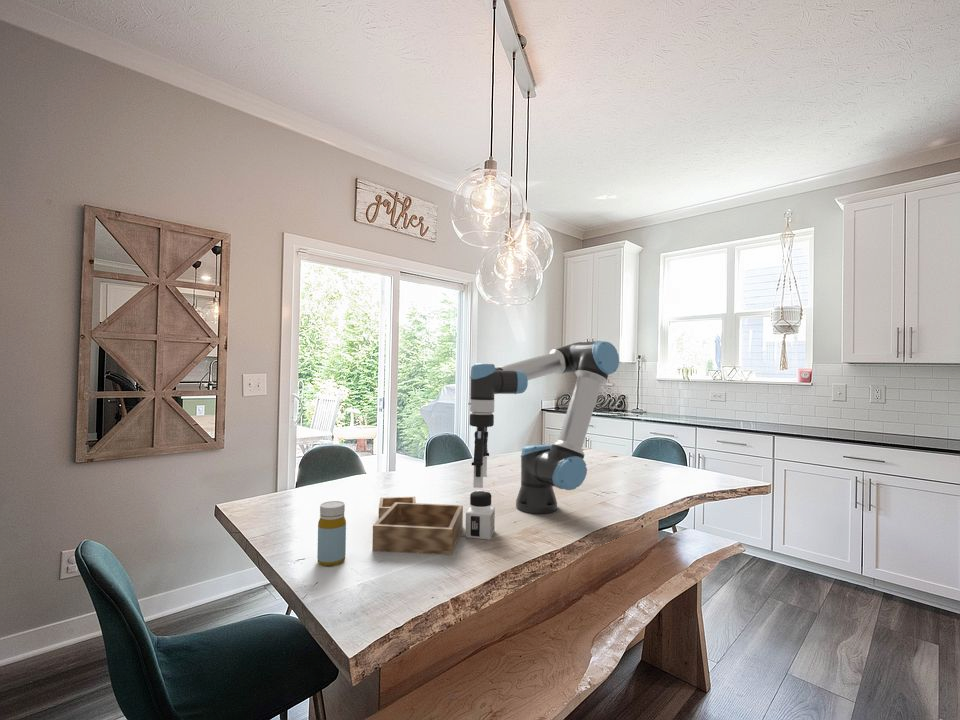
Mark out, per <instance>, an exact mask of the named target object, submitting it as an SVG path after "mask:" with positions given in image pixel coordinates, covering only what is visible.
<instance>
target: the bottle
mask: <svg viewBox="0 0 960 720" xmlns="http://www.w3.org/2000/svg"><path fill="white" fill-rule="evenodd" d="M345 506H346V504H345V502H343V501H339V500H331V501H325V502H322V503H321V504H320V505H319V520H318V523H317V554H316V555H317V556H316V557H317V563H318V564H319V565H320V566H323V567H334V566H339V565H340V564H342V563H343V562H344V561H345V559H346V552H347V551H346V547H347V546H346V545H347V544H346V541H347V539H346V538H347V520H346V517H345Z"/></svg>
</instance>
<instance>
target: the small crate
mask: <svg viewBox="0 0 960 720" xmlns="http://www.w3.org/2000/svg"><path fill="white" fill-rule="evenodd" d="M395 502H400V503H417V501H416V496H401V497H400V496H391V497H389V496H388V497H380V498H379V506H378V520H379V519H380V518H381V517H382V515H383V514H384V513H385V512H386V511H387V510H388V509H389V508H390V507H391V506H392V505H393V504H394V503H395ZM378 520H377V521H378ZM397 522H401V507H397Z"/></svg>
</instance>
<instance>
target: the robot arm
mask: <svg viewBox="0 0 960 720" xmlns="http://www.w3.org/2000/svg"><path fill="white" fill-rule="evenodd" d="M619 366H620V355H619V353H618V350H617V348H616V347H615V345H614V344H613V343H611V342H609V341H605V340H604V341H603V340H596V341H586V342H585V341H584V342H582V341H579V342H574V343H571V344H568V345H565V346H561V347H558V348H555V349H552V350H550V352H548V353H545V354H542V355H539V356H534V357H531V358H527V359H523V360H520V361H515V362H512V363H508V364H505V365H500V366H497V367H496V365H495V364H493V363H473V364H471V367H470V368H471V369H470V377H469V379H470V389H469V390H470V393H469V395H470V396H469V397H470V398H469V400H470V401H469V402H468V403H467V404H468V406H469V412H471V413H470V414H469V426H471V427H476V430H475V431H474V434H473V435H474V449H473V461H472V462H471V466H473V488H475V489H476V488H477V489H478V488H479V489H483V488H484V485H483V484H484V478H487V473H488V472H487V471H488V470H487V469H488V457H490V453H489V451H488V440H489V438H488V437H489V431H488V428H491V427H493V426H494V425H495V415H494V414H493V413H494V412H495V395H498V394H499V395H502V394H503V395H505V394H506V395H509V394H510V395H518V394H523V393H525V391H526V390H527V389H528V385H529V381H531V380H533V379H538V378H542V377H545V376H548V375H551V374H555V375H556V374H557V375H562V374H564V373H565V374H566V373H574V374H575V376H576V377H577V378H576V382H575V385H574V388H573V391H572V394H571V396H570V397H571V398H570V401H569V404H568V407H567V410H566V413H565V417H564V420H563V423H562V426H561V430H560V432H559V433H560V434H559V437H558V439H557V440H556V441H555V442H553V443H552V444H530V445H525V446H522V448H521V452H520V453H521V455H520V459H521V460H520V487H519V491H518V494H517V496H516V500H515V507H516V508H517V510H519V511H521V512H523V513H524V512H525V513H529V514H550V513H553V512H556V511H557V510H558V501H557V498H556V495H555V491H554V487H555V488H556V489H560V490H566V491H572V490H575V489H577V488H578V487H580V486H581V485H582V484H583V483H584V481H585V479H586V478H587V472H588V468H587V462H586V461H585V460H584V458H585V453H584V450H583V445H584V443H585V440H586V435H587V432H588V429H589V427H590V422H591V419H592V416H593V413H594V409H595V406H596V403H597V399H598V395H599V392H600V389H601V386H602V385H603V384H605V383H607V380H608V379H609V375H611V374H614V373H615V372H617V370H618V368H619Z"/></svg>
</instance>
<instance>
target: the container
mask: <svg viewBox="0 0 960 720" xmlns="http://www.w3.org/2000/svg"><path fill="white" fill-rule="evenodd" d="M495 508H496V507H495V506H492V493H491V492H489V491H485V490H474V491H473V492H471V493H470V496H469V508H468V510H466V512H465V538H468V539H477V540H478V539H479V540H480V539H481V540H491V539H492V536H493V535H494V532H495V527H496V525H495V523H496V522H495V519H496V516H495V515H496V510H495Z"/></svg>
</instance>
